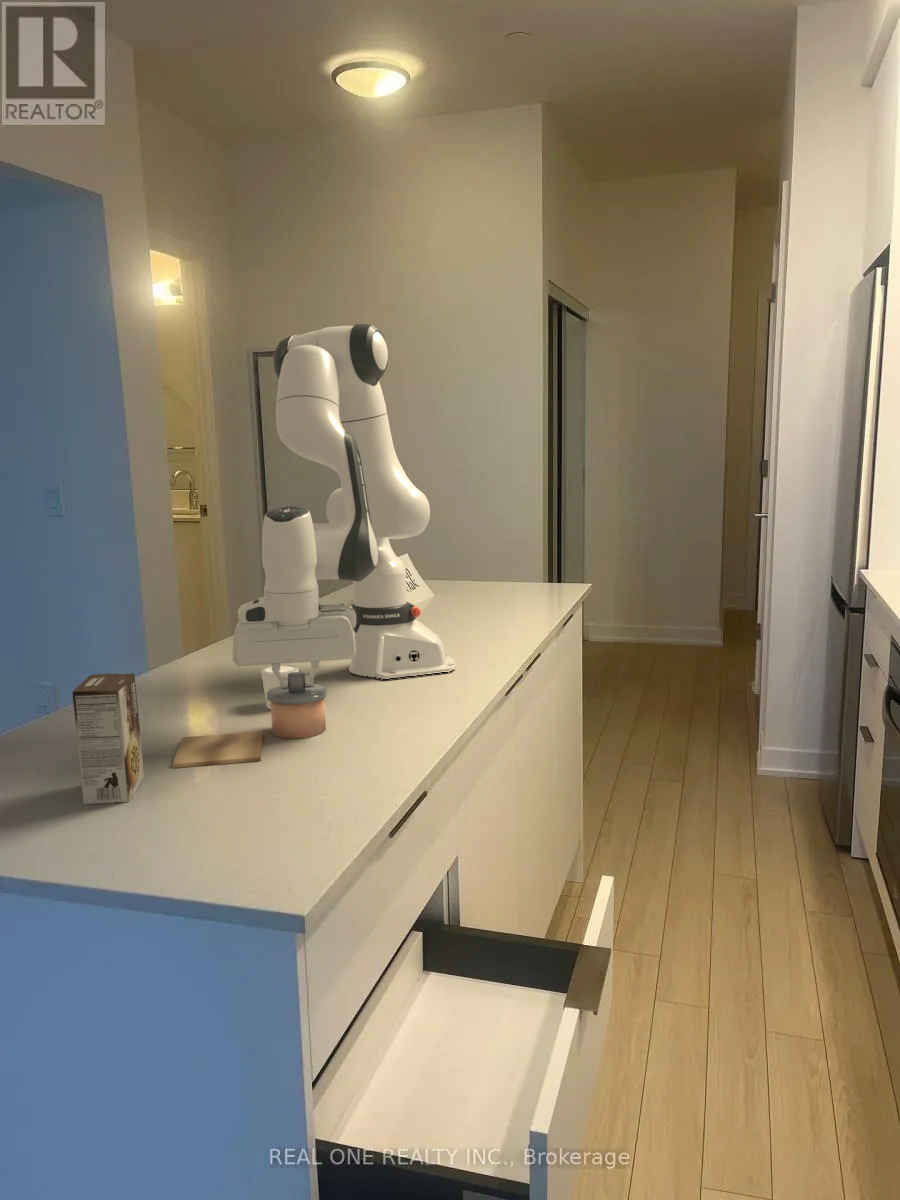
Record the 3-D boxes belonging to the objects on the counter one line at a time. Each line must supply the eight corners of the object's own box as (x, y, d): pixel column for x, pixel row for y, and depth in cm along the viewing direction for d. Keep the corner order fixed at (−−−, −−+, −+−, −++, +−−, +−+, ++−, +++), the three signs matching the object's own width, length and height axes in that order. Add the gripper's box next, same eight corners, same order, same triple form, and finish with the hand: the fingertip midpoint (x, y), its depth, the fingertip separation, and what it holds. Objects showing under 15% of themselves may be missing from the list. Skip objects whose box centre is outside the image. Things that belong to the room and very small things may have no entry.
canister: (325, 720, 161) (323, 687, 160) (327, 736, 152) (325, 701, 151) (272, 724, 160) (270, 690, 159) (271, 740, 151) (269, 705, 150)
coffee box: (100, 781, 135) (90, 673, 132) (145, 778, 135) (136, 671, 132) (81, 805, 126) (69, 690, 123) (129, 802, 126) (119, 688, 123)
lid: (326, 686, 161) (325, 664, 160) (328, 701, 151) (327, 679, 150) (267, 690, 159) (266, 668, 158) (266, 706, 149) (264, 683, 149)
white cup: (307, 701, 173) (305, 665, 172) (289, 712, 167) (287, 674, 165) (274, 699, 175) (272, 663, 174) (255, 709, 169) (253, 672, 168)
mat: (262, 734, 154) (262, 731, 154) (260, 760, 141) (260, 757, 141) (182, 740, 152) (182, 737, 152) (172, 767, 139) (172, 764, 139)
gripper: (354, 600, 157) (357, 678, 159) (231, 606, 154) (236, 686, 156) (356, 606, 151) (360, 688, 153) (228, 613, 148) (234, 697, 150)
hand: (296, 687), depth 155 cm, fingers closed on lid, 3 cm apart
